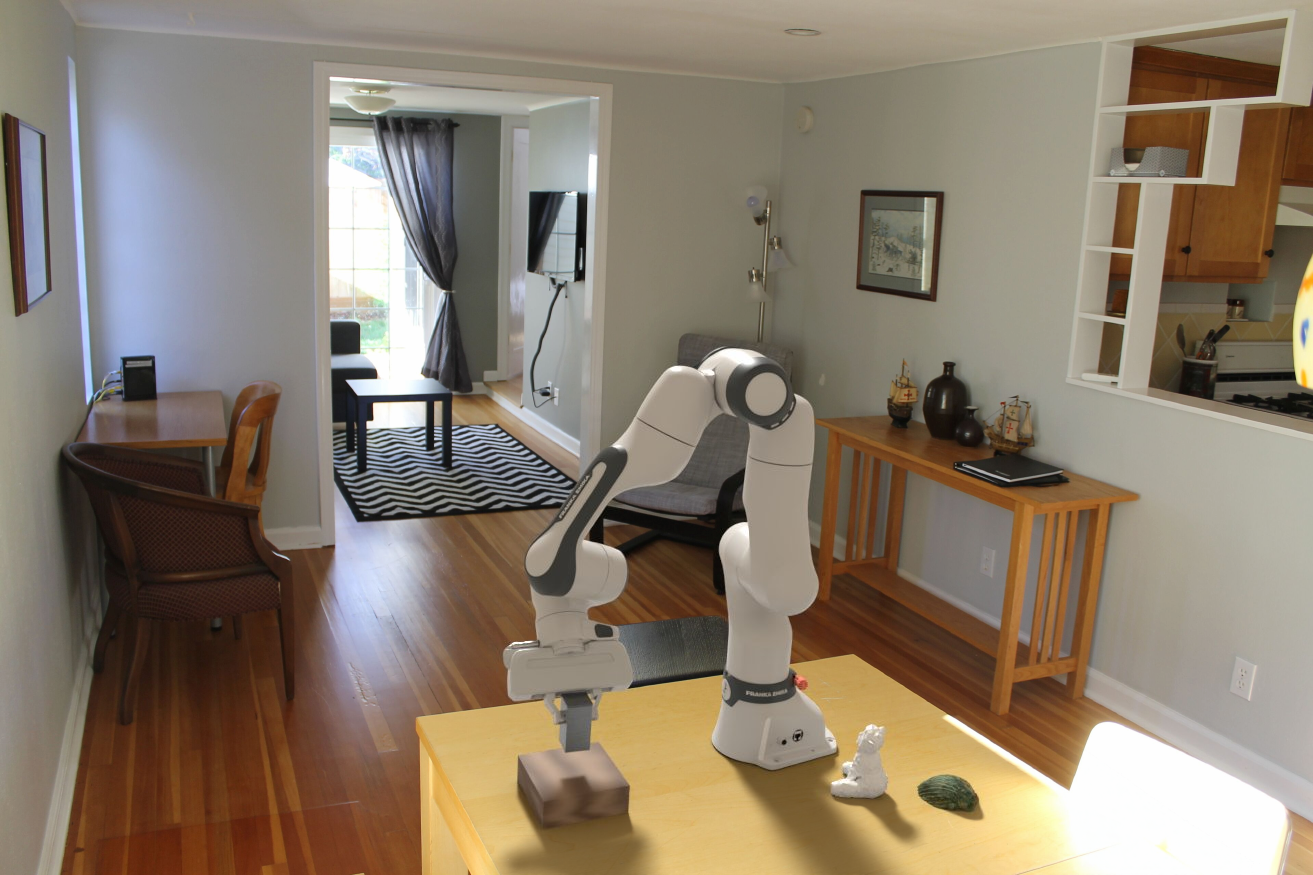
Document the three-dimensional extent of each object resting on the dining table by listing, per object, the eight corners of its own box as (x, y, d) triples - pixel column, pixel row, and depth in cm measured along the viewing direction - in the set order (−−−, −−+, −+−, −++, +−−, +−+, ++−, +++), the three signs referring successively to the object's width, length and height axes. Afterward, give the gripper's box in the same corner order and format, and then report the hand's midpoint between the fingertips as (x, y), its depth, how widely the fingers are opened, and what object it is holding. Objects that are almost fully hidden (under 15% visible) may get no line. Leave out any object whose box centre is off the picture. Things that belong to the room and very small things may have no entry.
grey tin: (583, 736, 163) (586, 691, 161) (590, 749, 159) (592, 703, 157) (558, 739, 161) (561, 693, 160) (564, 752, 158) (567, 706, 156)
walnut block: (597, 768, 171) (598, 741, 170) (628, 813, 158) (629, 785, 157) (517, 782, 165) (517, 755, 164) (542, 831, 153) (543, 801, 152)
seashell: (954, 754, 173) (994, 785, 165) (952, 775, 175) (993, 807, 166) (906, 768, 170) (945, 801, 161) (905, 790, 171) (944, 823, 162)
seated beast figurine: (843, 768, 174) (850, 705, 172) (893, 782, 171) (901, 718, 168) (828, 795, 166) (835, 728, 164) (879, 810, 163) (887, 743, 160)
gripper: (504, 636, 159) (514, 722, 153) (627, 626, 166) (642, 708, 159) (498, 650, 165) (508, 734, 158) (618, 640, 171) (632, 720, 165)
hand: (576, 721), depth 159 cm, fingers closed on grey tin, 4 cm apart
